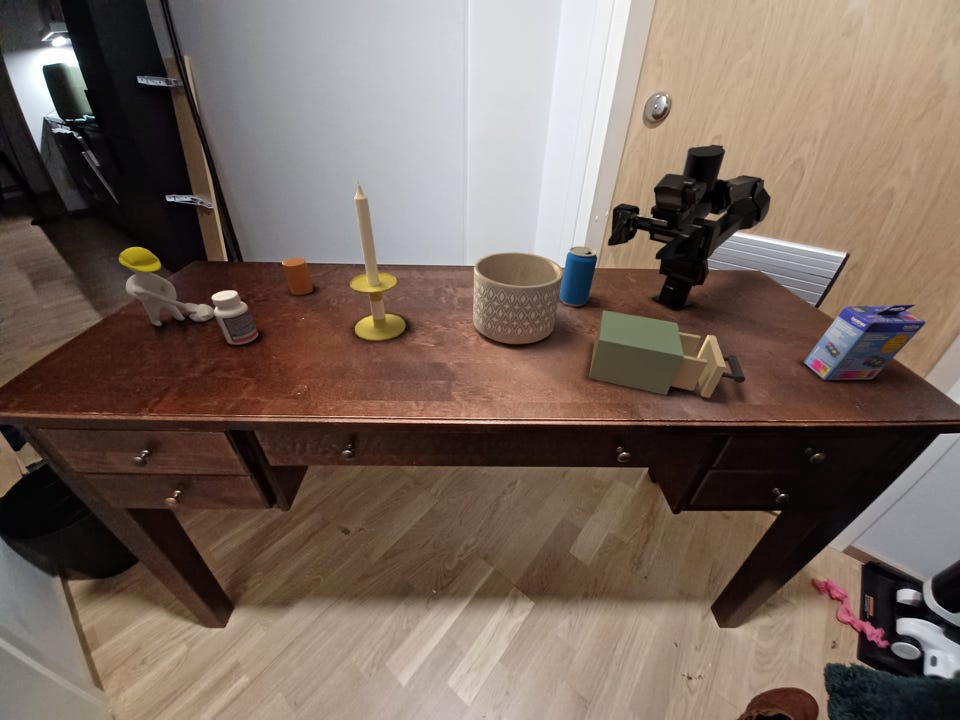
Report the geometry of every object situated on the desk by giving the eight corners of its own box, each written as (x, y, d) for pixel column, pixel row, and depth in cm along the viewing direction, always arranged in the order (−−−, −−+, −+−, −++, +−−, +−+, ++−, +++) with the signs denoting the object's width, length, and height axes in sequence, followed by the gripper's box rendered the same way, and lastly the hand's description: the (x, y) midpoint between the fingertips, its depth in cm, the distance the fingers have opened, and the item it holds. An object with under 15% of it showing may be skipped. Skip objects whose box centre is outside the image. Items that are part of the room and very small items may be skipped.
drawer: (725, 370, 64) (741, 340, 60) (737, 404, 57) (756, 373, 53) (634, 351, 68) (643, 323, 64) (634, 381, 61) (645, 351, 57)
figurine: (180, 337, 68) (138, 260, 59) (140, 330, 70) (93, 254, 61) (222, 312, 76) (190, 240, 67) (185, 306, 78) (149, 235, 69)
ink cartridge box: (825, 382, 63) (883, 308, 55) (800, 363, 68) (850, 292, 59) (876, 380, 64) (941, 307, 56) (848, 361, 69) (904, 291, 60)
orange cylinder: (311, 284, 88) (303, 256, 84) (314, 292, 85) (307, 263, 81) (289, 288, 86) (280, 259, 82) (292, 296, 83) (283, 267, 79)
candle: (413, 333, 72) (399, 184, 56) (362, 346, 68) (331, 189, 52) (396, 311, 79) (379, 173, 63) (349, 321, 75) (318, 176, 59)
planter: (487, 302, 83) (490, 247, 76) (559, 315, 79) (569, 259, 72) (460, 338, 71) (460, 277, 63) (543, 357, 67) (554, 294, 59)
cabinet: (662, 359, 67) (677, 322, 63) (666, 395, 59) (683, 356, 55) (593, 346, 70) (603, 309, 66) (588, 378, 62) (599, 339, 58)
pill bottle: (265, 333, 70) (249, 291, 65) (242, 348, 66) (223, 304, 61) (243, 328, 72) (226, 286, 66) (220, 342, 68) (199, 298, 62)
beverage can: (587, 309, 82) (599, 257, 75) (558, 306, 83) (567, 254, 76) (586, 296, 87) (597, 247, 80) (559, 293, 88) (568, 244, 81)
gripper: (642, 163, 69) (588, 193, 63) (751, 174, 57) (696, 212, 51) (636, 221, 76) (587, 252, 70) (731, 242, 64) (681, 281, 58)
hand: (631, 249), depth 62 cm, fingers open, 9 cm apart
